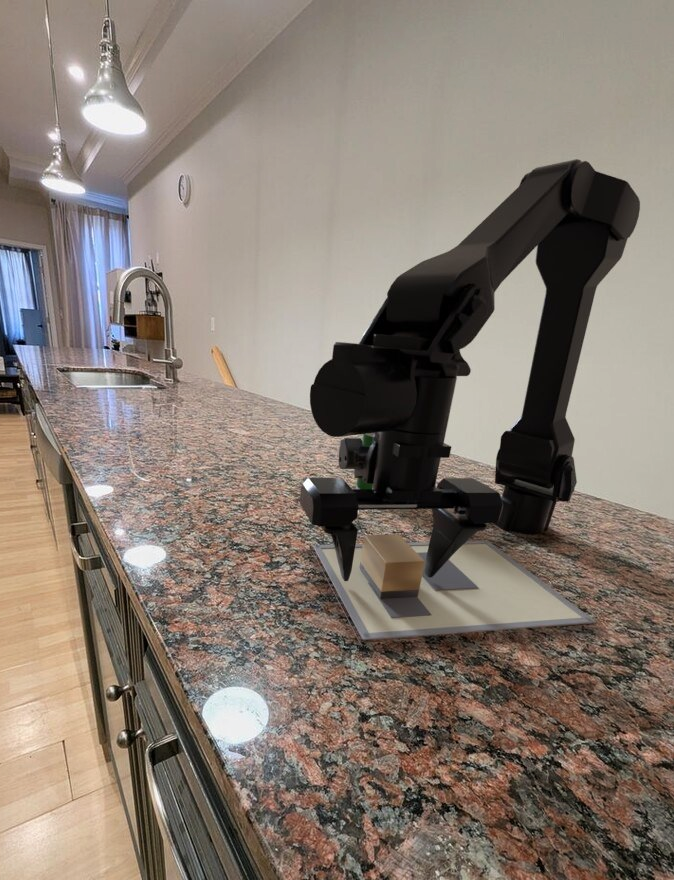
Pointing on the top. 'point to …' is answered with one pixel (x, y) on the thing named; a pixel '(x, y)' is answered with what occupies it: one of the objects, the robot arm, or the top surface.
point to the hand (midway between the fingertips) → (387, 577)
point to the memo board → (452, 596)
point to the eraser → (391, 566)
